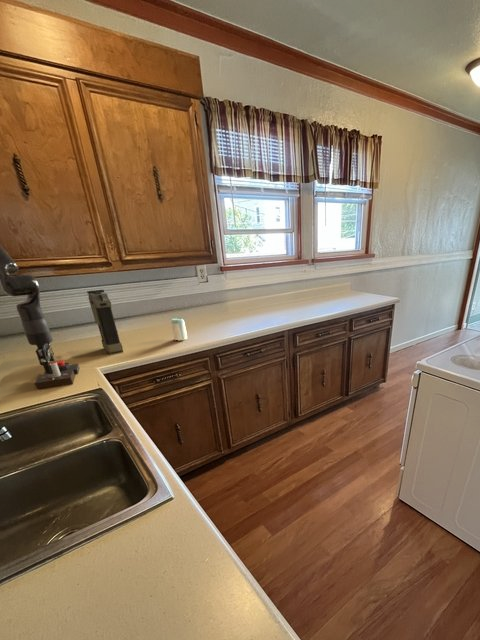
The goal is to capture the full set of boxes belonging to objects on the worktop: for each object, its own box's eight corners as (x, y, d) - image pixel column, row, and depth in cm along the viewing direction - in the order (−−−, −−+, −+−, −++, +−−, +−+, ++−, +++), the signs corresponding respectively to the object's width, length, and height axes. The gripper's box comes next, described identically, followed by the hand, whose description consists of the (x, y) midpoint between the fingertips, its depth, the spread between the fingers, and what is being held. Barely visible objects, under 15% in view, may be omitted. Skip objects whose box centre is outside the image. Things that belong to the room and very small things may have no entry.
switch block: (45, 379, 137) (41, 370, 135) (47, 372, 144) (44, 364, 142) (78, 374, 142) (75, 365, 140) (79, 368, 149) (76, 359, 147)
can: (172, 339, 189) (169, 318, 184) (184, 337, 193) (181, 316, 187) (176, 342, 184) (173, 321, 179) (189, 340, 188) (185, 319, 182)
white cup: (47, 378, 130) (41, 365, 127) (49, 375, 133) (43, 361, 131) (60, 376, 132) (55, 363, 129) (61, 373, 135) (56, 360, 132)
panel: (37, 390, 127) (34, 382, 126) (41, 381, 135) (38, 374, 134) (73, 384, 132) (70, 377, 131) (75, 376, 140) (72, 369, 139)
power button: (54, 367, 139) (53, 363, 138) (55, 365, 142) (54, 361, 141) (64, 366, 141) (63, 362, 140) (65, 363, 143) (64, 360, 143)
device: (101, 348, 174) (85, 290, 161) (117, 345, 179) (101, 288, 165) (109, 355, 165) (91, 293, 151) (125, 351, 169) (109, 291, 156)
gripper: (45, 333, 120) (60, 374, 127) (51, 325, 131) (64, 363, 138) (20, 336, 116) (37, 378, 124) (28, 327, 128) (43, 366, 135)
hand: (51, 370), depth 131 cm, fingers open, 8 cm apart
